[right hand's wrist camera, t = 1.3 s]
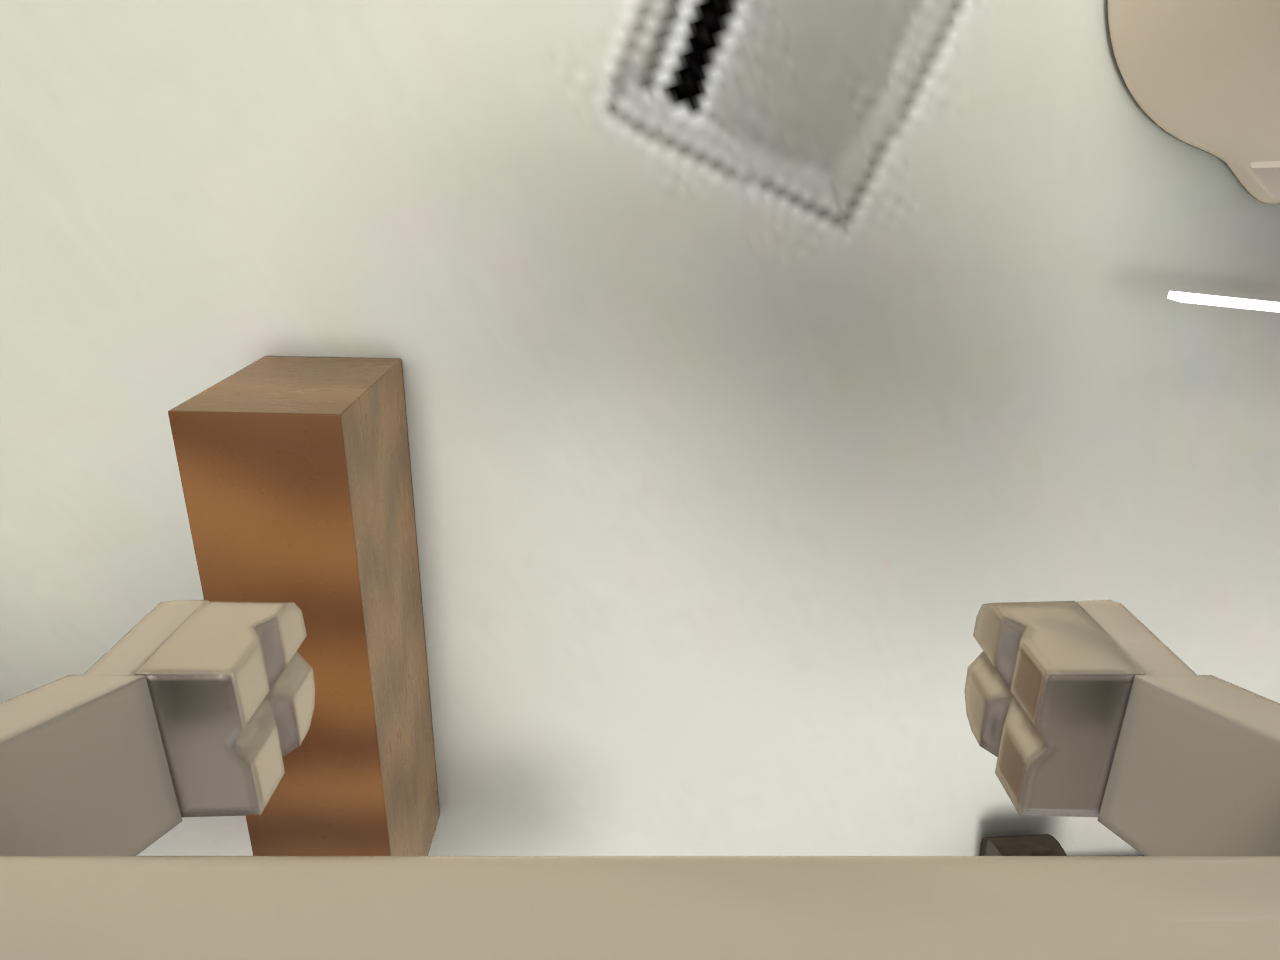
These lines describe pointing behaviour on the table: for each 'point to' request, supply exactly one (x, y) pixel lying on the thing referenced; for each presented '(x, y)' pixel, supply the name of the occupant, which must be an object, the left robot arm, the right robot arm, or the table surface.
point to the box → (324, 586)
